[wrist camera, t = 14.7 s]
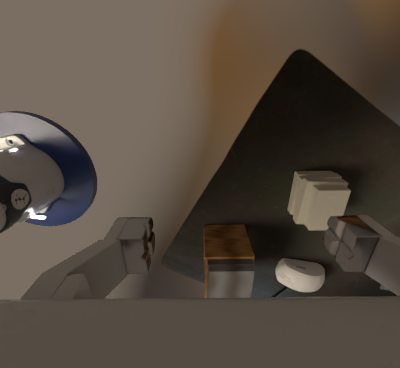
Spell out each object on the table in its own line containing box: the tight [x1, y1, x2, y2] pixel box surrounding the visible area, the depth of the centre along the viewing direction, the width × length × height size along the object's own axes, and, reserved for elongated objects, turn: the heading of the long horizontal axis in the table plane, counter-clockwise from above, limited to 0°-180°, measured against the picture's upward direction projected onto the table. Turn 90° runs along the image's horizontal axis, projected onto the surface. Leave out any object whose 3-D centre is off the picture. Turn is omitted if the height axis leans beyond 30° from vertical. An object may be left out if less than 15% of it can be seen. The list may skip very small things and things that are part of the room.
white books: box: [288, 171, 348, 224], centre depth 46 cm, size 9×10×6 cm
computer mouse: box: [275, 258, 325, 292], centre depth 56 cm, size 6×13×6 cm, turn 78°
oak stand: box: [204, 224, 255, 298], centre depth 48 cm, size 10×12×14 cm
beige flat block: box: [304, 185, 351, 230], centre depth 42 cm, size 6×9×2 cm, turn 1°
